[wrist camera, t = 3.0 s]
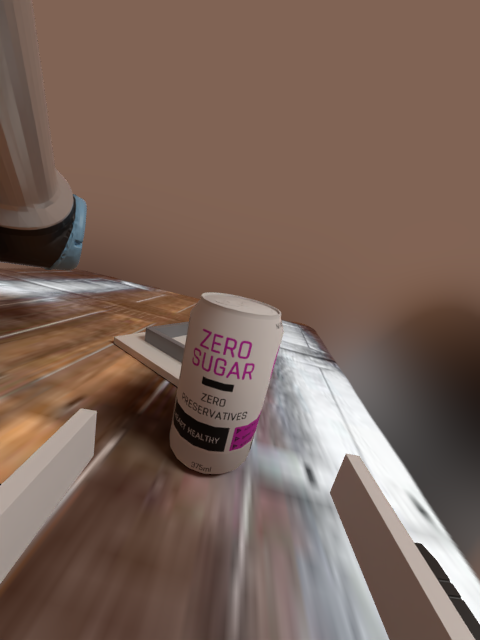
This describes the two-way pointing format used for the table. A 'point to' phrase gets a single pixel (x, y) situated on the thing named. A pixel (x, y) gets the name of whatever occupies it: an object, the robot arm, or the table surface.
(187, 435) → the supplement can
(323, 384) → the table surface
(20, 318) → the table surface
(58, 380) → the table surface
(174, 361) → the socket board
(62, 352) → the table surface
